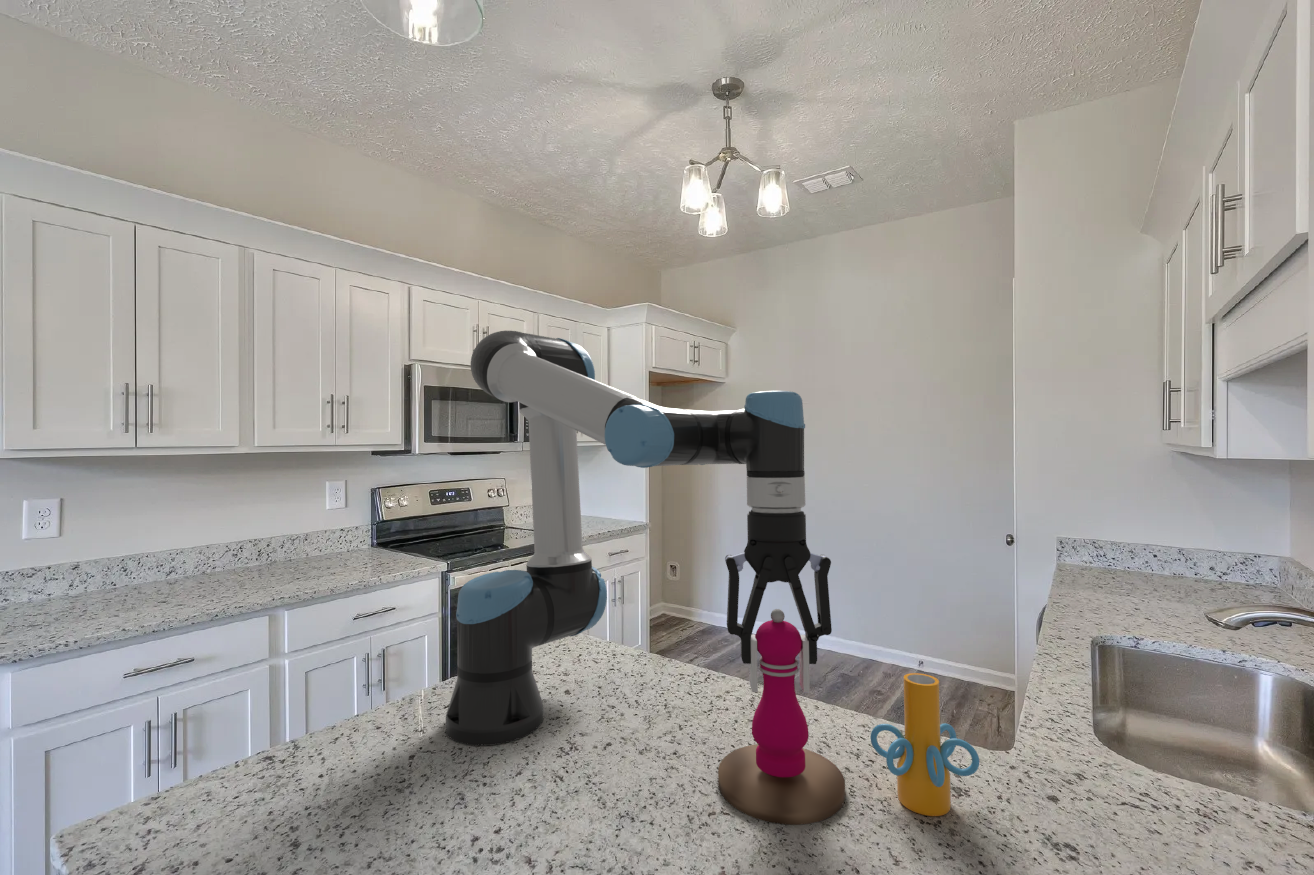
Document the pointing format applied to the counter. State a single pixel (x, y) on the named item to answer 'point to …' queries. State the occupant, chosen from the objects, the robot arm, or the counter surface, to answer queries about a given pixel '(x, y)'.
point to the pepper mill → (779, 701)
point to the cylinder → (923, 750)
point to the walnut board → (781, 789)
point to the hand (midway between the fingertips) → (779, 687)
